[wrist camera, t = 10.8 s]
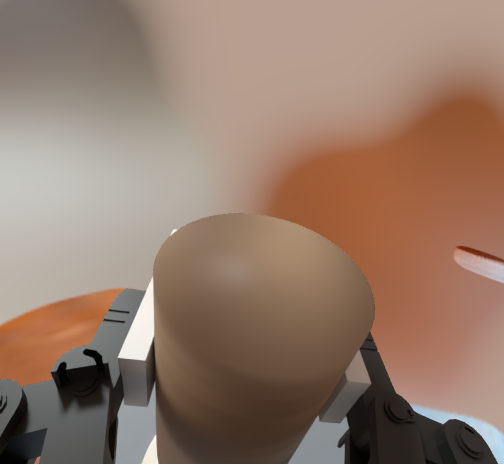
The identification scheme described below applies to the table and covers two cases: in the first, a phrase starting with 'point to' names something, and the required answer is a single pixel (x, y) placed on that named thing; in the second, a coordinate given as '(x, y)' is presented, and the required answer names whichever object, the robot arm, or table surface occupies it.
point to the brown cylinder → (250, 337)
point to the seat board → (145, 451)
